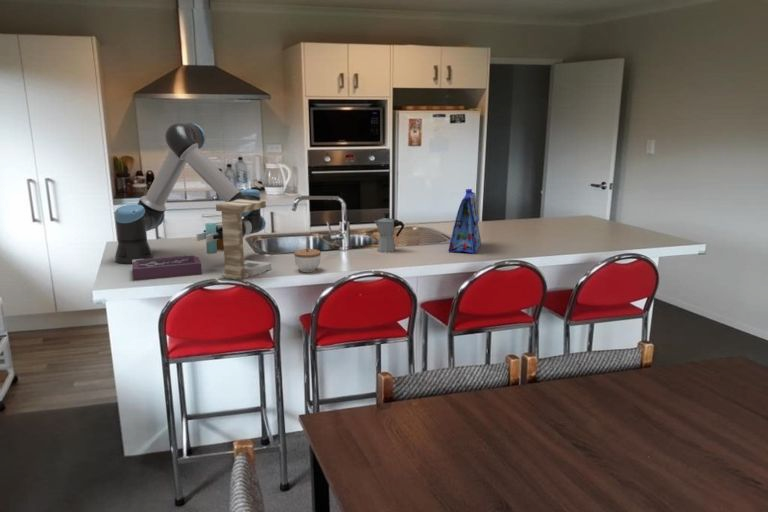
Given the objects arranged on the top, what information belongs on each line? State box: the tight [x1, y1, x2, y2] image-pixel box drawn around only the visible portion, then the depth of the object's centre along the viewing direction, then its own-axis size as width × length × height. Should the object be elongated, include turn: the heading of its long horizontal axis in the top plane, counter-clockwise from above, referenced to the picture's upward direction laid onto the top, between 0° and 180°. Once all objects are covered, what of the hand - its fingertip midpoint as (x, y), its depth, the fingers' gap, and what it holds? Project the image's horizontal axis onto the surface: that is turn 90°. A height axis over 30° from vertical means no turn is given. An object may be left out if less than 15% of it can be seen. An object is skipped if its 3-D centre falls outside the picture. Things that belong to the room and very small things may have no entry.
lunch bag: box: [448, 188, 482, 255], centre depth 275 cm, size 22×14×29 cm, turn 164°
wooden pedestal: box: [215, 199, 267, 280], centre depth 229 cm, size 16×12×28 cm
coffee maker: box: [373, 212, 405, 254], centre depth 271 cm, size 15×9×18 cm, turn 73°
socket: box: [244, 259, 272, 277], centre depth 236 cm, size 12×12×2 cm
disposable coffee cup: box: [215, 221, 224, 251], centre depth 274 cm, size 10×10×12 cm
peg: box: [204, 222, 218, 255], centre depth 234 cm, size 4×4×12 cm
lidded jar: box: [293, 247, 322, 273], centre depth 236 cm, size 11×11×9 cm
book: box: [131, 253, 203, 281], centre depth 233 cm, size 25×16×5 cm, turn 113°
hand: (202, 238), depth 229 cm, fingers closed on peg, 4 cm apart
